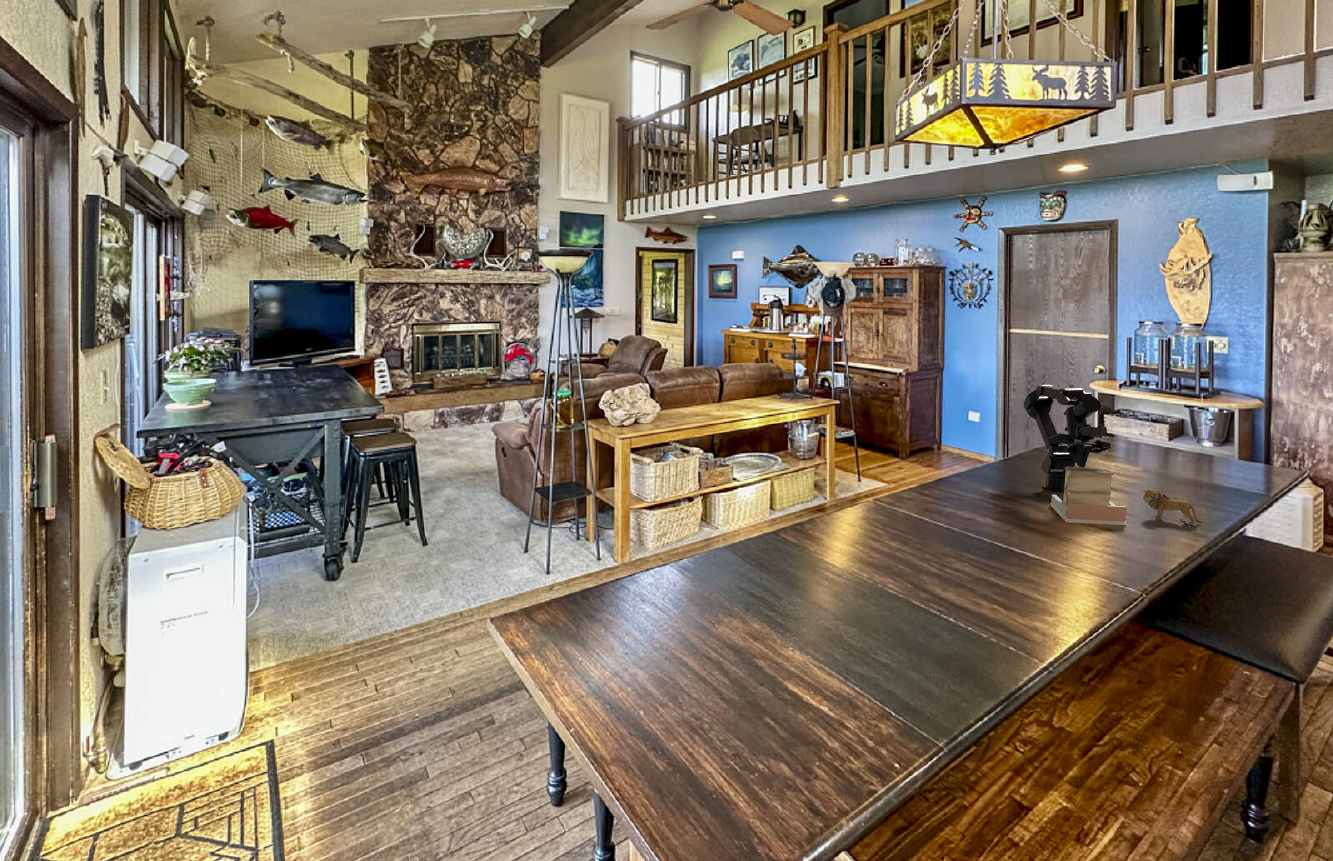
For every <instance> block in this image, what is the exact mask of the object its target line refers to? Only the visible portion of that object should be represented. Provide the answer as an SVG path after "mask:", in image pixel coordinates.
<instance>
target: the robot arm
mask: <svg viewBox="0 0 1333 861" xmlns="http://www.w3.org/2000/svg"><path fill="white" fill-rule="evenodd" d="M1054 400H1057V401H1056V402H1057V403H1058V404H1059V405H1061V406H1068V407H1067V408H1066V409H1065V411H1064V412H1063V415H1064V416H1066V427H1065V428H1064V431H1065V432H1067V434H1066V433H1061V432H1057V430H1056V427H1055V425H1054V423H1053V422H1054V421H1053V420H1052V417H1051V414H1050V412H1051V409H1052V405H1053V404H1054ZM1101 407H1102V404H1101V401H1100V400H1099V399H1098V397H1095V396H1094V395H1093V393H1092V392H1085V390H1084V389H1083V388H1082V387H1078V388H1077V387H1073V388H1070V387H1069V388H1063V387H1059V386H1055V385H1052V384H1039V385H1037V386H1036V388H1035V389H1034V390H1033V391H1032V392H1029V393H1028V394H1027V395H1026V397H1025V398H1024V400H1023V409H1024V411H1026V414H1027V415H1028V416H1029V417H1031V418H1032V419H1033V420H1035V422H1036V424H1037V425H1036V426H1038V427H1037V428H1038V429H1039V433H1040V435H1041V438H1042V440H1043V442H1044V444H1045V447H1046V449H1047V452H1046V454H1045V457H1044V460H1043V461H1042V463H1041V465H1040V467H1041V472H1044V473H1046V476H1045V477H1046V478H1045V484H1044V485H1043V484H1042V485H1041V487H1042V488H1043V489H1046V490H1049V491H1052V492H1062V491H1063V492H1064V485H1065V475H1066V470H1065V467H1076V466H1075V465H1077V467H1086V465H1087V461H1088V457H1089V455H1090V453H1091V454H1101V453H1103V452H1106V451H1109V450H1111V449H1112V446H1111V442H1109V440H1103V439H1102V438H1103V437H1107V435H1108V429H1107V426H1105V425H1098V426H1092V425H1091V424H1088V420H1087V419H1088V418H1090V417H1091V416H1093V415H1094V414H1095V413H1096V412H1098V411H1099V410H1100V409H1101ZM1095 438H1099V439H1097V440H1095ZM1093 440H1094V441H1093ZM1063 444H1064V445H1063Z"/></svg>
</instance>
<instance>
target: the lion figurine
mask: <svg viewBox="0 0 1333 861" xmlns="http://www.w3.org/2000/svg"><path fill="white" fill-rule="evenodd" d="M1142 499H1143V501H1144V503H1145V504H1147V505H1148V506H1149V507H1150V508H1151V509H1152V510H1156V511H1157V514H1156V515H1155V520H1156V521H1161V520H1162V518H1163V512H1164V511H1167V512H1171V513H1172V512H1173V513H1174V512H1178V511H1180V513H1182V514H1183V518H1180V519H1179V521H1180V522H1186V520H1187V519H1188V520H1189V521H1190V522H1187V524H1188V526H1194V524H1195V522H1196V523H1197V524H1202V521H1201V520H1199V519H1198V518H1197V515H1196V510H1195V507H1194V506H1193V504H1192V503H1191V502H1189V501H1188V500H1180V499H1179V500H1176V499H1171V498H1170V497H1168V496H1167V495H1166V494H1164V493H1163V492H1160V491H1158V490H1156V489H1153V488H1149V489H1146V490H1144V493H1143V497H1142ZM1191 512H1192V513H1191ZM1192 514H1193V515H1192Z"/></svg>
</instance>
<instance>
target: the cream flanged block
mask: <svg viewBox="0 0 1333 861" xmlns="http://www.w3.org/2000/svg"><path fill="white" fill-rule="evenodd" d="M1065 470H1066V475H1065V485H1064V491H1063V502H1064V503H1065V504H1066V505H1067V504H1085V505H1109V502H1110V501H1111V500H1110V499H1111V495H1112V494H1111V493H1112V491H1111V489H1112V479H1113V478H1112V477H1113V476H1114V472H1113V471H1111V470H1110V469H1108V468H1106V467H1092V466H1091V467H1088V466H1087V467H1086V466H1085V467H1079V466H1074V467H1065Z"/></svg>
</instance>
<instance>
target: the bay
mask: <svg viewBox="0 0 1333 861" xmlns="http://www.w3.org/2000/svg"><path fill="white" fill-rule="evenodd" d="M1050 506H1051V507H1052V508H1053V510H1054V511H1055V512H1056V513H1057V514H1058V515H1059V516H1060V517H1061V518H1062V519H1063V520H1064V522H1065V523H1070V524H1071V523H1072V524H1074V523H1075V524H1076V523H1077V524H1094V525H1095V524H1097V525H1113V526H1115V525H1116V526H1127V524H1128V523H1127V521H1126V518H1127V505H1116V504H1115V503H1114V502H1112V501H1111V500H1110V502H1109V505H1085V504H1067V505H1066V504H1065V503H1064V500H1062V499H1061V498H1060V497H1059V496H1058V495H1057V494H1051V502H1050Z"/></svg>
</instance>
